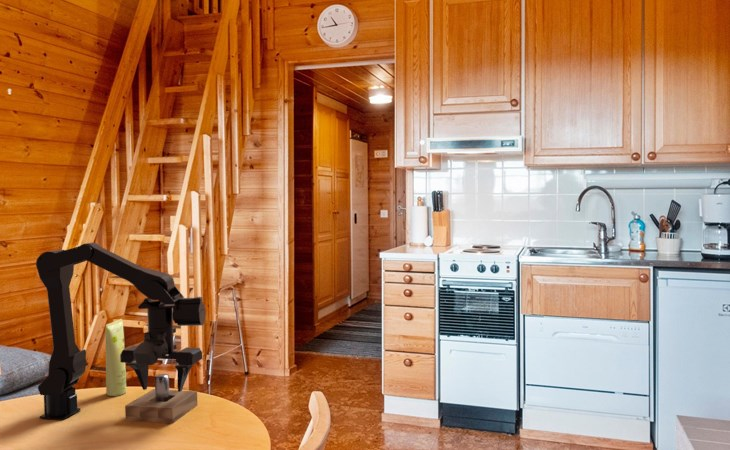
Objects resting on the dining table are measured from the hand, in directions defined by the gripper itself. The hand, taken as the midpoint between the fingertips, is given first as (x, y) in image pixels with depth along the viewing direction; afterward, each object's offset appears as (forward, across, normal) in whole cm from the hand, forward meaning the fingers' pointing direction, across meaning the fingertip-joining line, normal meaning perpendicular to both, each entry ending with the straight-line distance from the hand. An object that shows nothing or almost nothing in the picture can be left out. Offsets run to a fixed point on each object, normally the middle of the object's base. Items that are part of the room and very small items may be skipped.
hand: (162, 390), depth 138 cm
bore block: (+5, 0, 0) cm, 5 cm away
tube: (+6, -20, +11) cm, 24 cm away
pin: (+4, 0, 0) cm, 4 cm away
